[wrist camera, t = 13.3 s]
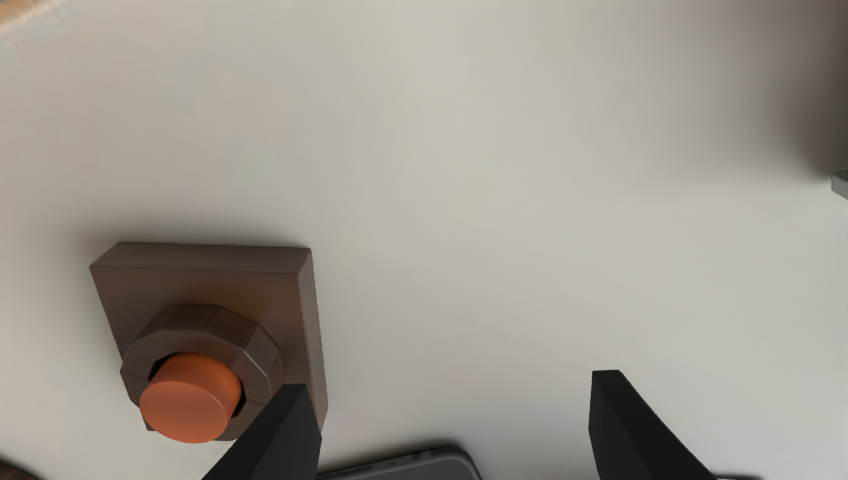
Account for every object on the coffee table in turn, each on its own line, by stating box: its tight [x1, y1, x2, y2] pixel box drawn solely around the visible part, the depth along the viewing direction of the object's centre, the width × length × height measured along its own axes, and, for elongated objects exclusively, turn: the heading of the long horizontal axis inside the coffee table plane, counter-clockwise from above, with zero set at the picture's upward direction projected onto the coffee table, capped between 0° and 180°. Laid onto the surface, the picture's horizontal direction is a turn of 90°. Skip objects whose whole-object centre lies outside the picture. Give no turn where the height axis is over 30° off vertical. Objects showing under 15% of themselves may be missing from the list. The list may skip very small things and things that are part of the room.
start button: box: [139, 352, 242, 443], centre depth 22 cm, size 4×4×2 cm
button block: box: [89, 242, 328, 441], centre depth 24 cm, size 10×9×4 cm
